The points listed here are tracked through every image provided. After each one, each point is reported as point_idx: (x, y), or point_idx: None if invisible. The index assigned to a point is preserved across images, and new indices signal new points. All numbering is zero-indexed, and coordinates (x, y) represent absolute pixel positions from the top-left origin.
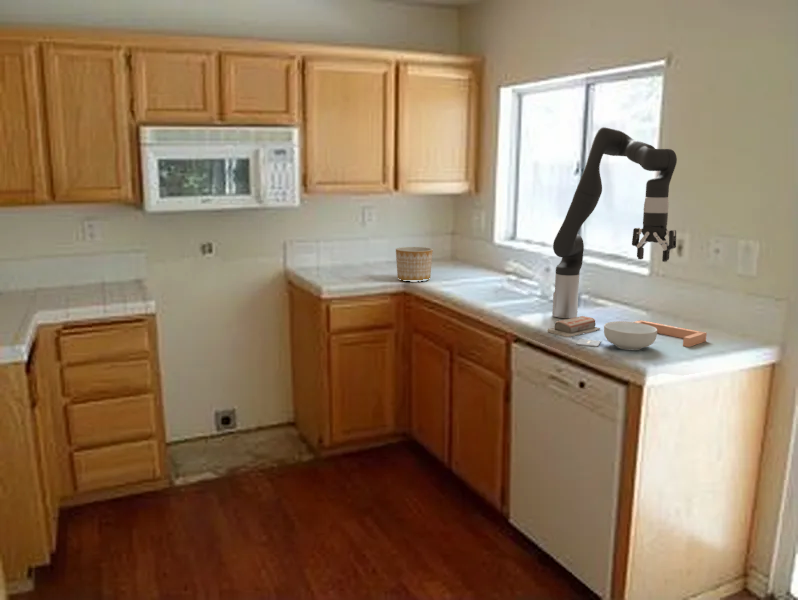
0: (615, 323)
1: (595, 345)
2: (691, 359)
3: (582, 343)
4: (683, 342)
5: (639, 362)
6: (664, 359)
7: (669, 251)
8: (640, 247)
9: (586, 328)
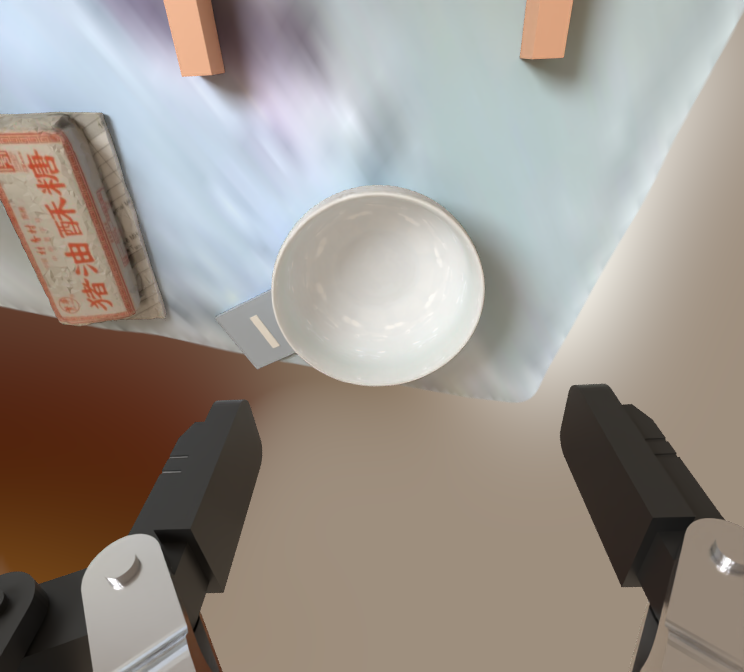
0: (280, 273)
1: None
2: (613, 234)
3: (266, 356)
4: (526, 58)
5: (494, 378)
6: (538, 303)
7: (717, 516)
8: (199, 600)
9: (109, 204)
